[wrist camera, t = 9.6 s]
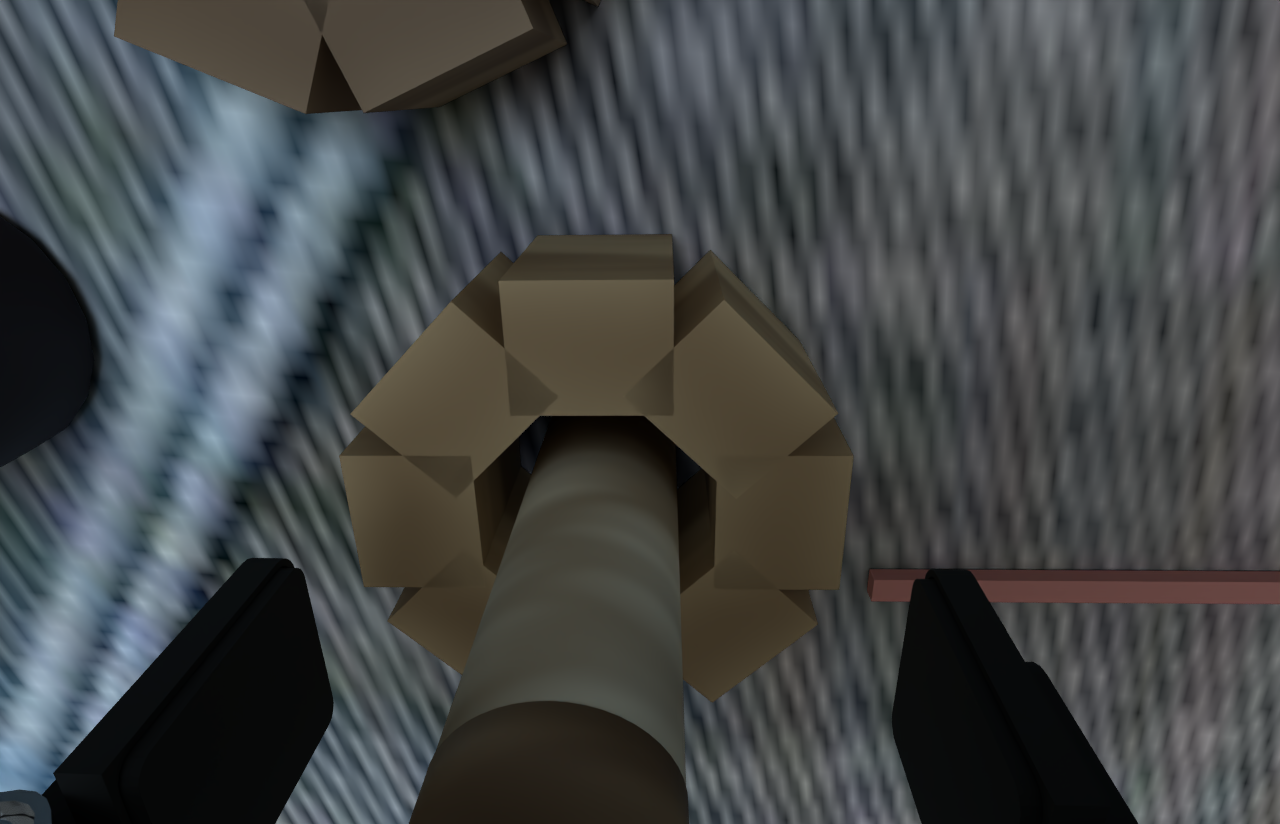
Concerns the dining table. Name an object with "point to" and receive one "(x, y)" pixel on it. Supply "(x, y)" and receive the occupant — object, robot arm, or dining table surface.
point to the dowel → (576, 647)
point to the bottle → (37, 347)
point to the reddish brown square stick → (1097, 586)
